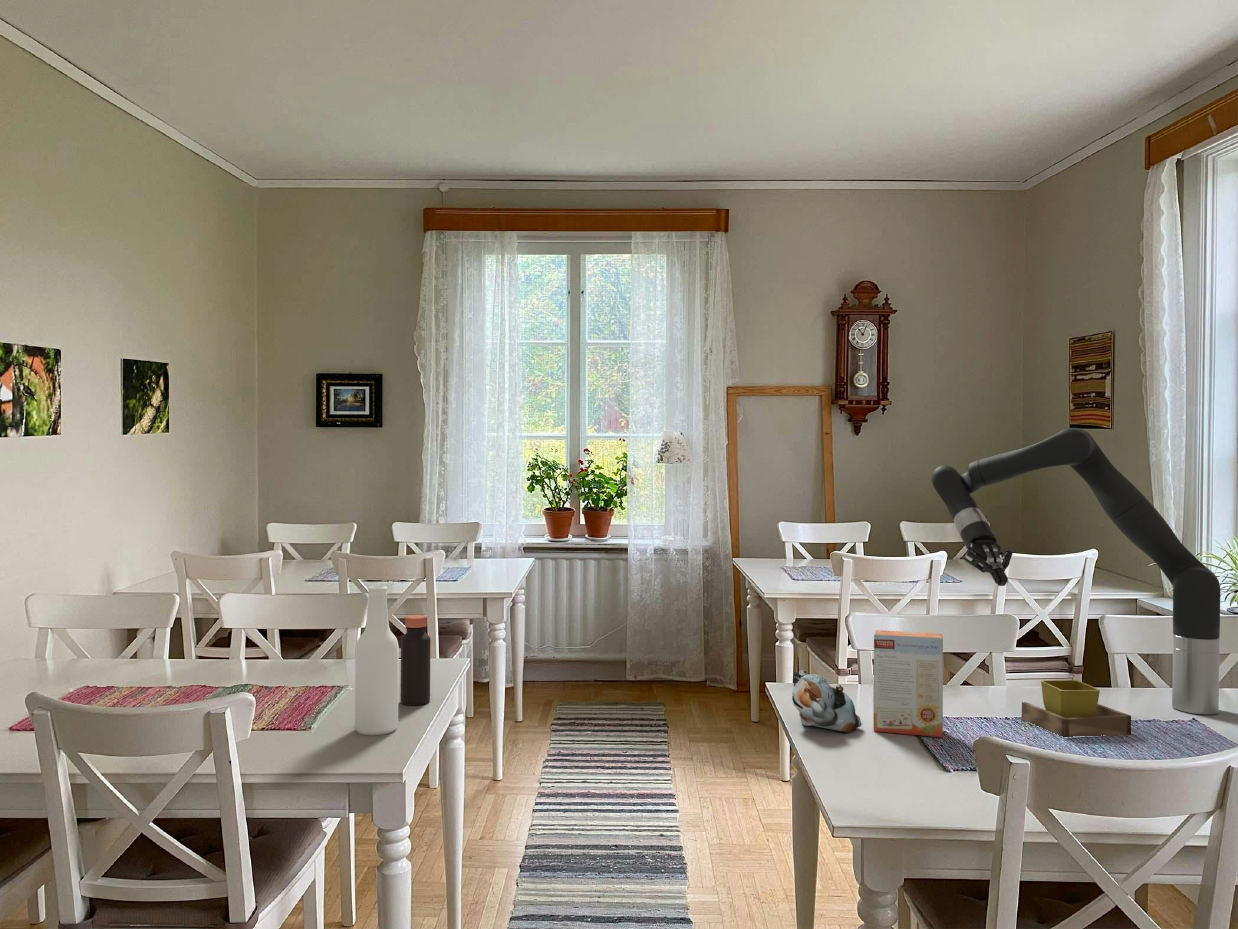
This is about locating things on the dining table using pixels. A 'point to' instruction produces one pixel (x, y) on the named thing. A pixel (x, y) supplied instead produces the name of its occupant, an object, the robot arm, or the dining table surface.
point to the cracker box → (908, 683)
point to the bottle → (415, 662)
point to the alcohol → (376, 670)
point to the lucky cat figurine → (823, 703)
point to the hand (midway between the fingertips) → (1003, 583)
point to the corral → (1079, 722)
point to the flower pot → (1070, 698)
